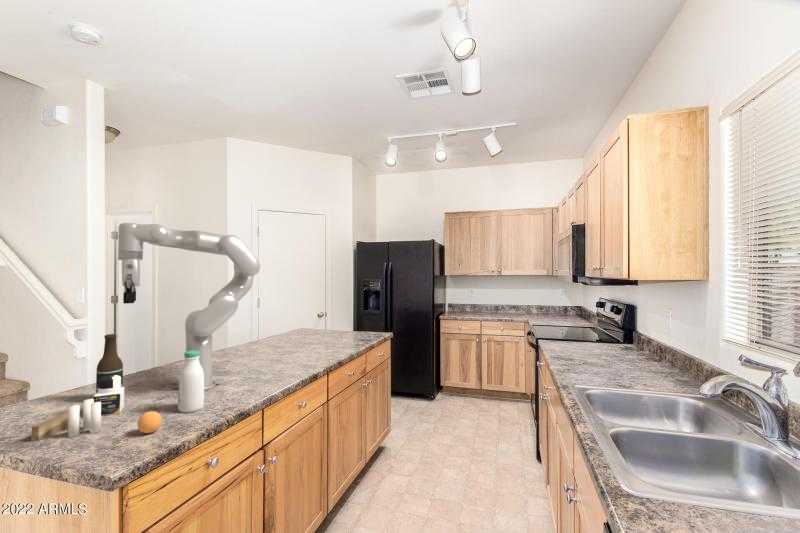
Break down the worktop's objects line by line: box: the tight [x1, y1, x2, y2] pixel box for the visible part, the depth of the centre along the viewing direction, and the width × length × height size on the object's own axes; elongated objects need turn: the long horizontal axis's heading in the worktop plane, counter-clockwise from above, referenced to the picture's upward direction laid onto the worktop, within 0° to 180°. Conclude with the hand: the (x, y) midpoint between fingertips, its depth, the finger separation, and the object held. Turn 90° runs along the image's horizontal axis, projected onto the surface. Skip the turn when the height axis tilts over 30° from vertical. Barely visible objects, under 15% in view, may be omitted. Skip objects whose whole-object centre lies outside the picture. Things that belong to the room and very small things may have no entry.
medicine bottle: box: [93, 375, 125, 417], centre depth 125 cm, size 7×7×12 cm
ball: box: [136, 410, 163, 434], centre depth 110 cm, size 6×6×6 cm
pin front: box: [89, 402, 102, 435], centre depth 110 cm, size 2×2×8 cm
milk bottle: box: [177, 350, 205, 413], centre depth 128 cm, size 8×8×20 cm
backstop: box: [31, 410, 69, 442], centre depth 109 cm, size 2×12×4 cm, turn 1°
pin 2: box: [82, 398, 94, 431], centre depth 112 cm, size 2×2×8 cm
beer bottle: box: [95, 333, 124, 394], centre depth 137 cm, size 8×8×24 cm
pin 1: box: [67, 404, 81, 438], centre depth 107 cm, size 2×2×8 cm
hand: (129, 302), depth 137 cm, fingers open, 9 cm apart
